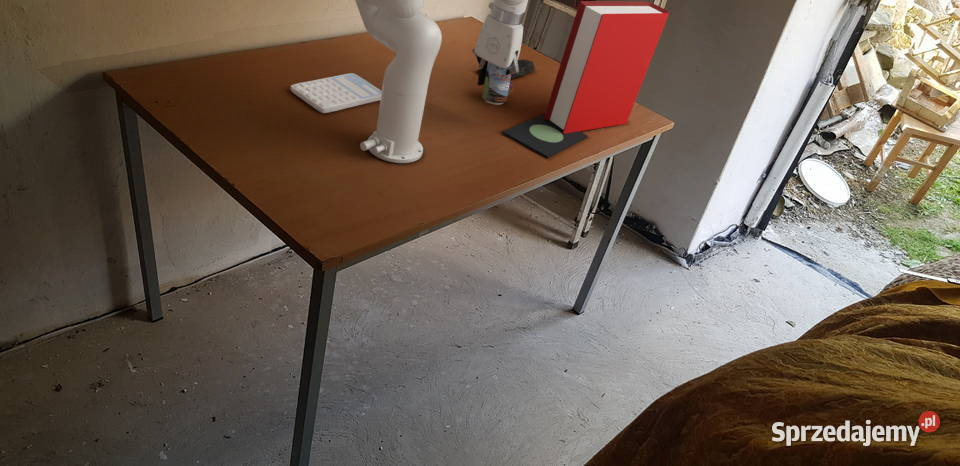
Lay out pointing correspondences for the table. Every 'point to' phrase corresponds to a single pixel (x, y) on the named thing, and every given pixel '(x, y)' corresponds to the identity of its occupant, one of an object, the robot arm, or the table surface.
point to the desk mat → (543, 136)
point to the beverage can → (496, 84)
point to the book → (604, 63)
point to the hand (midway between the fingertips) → (488, 87)
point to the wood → (523, 68)
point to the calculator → (337, 92)
